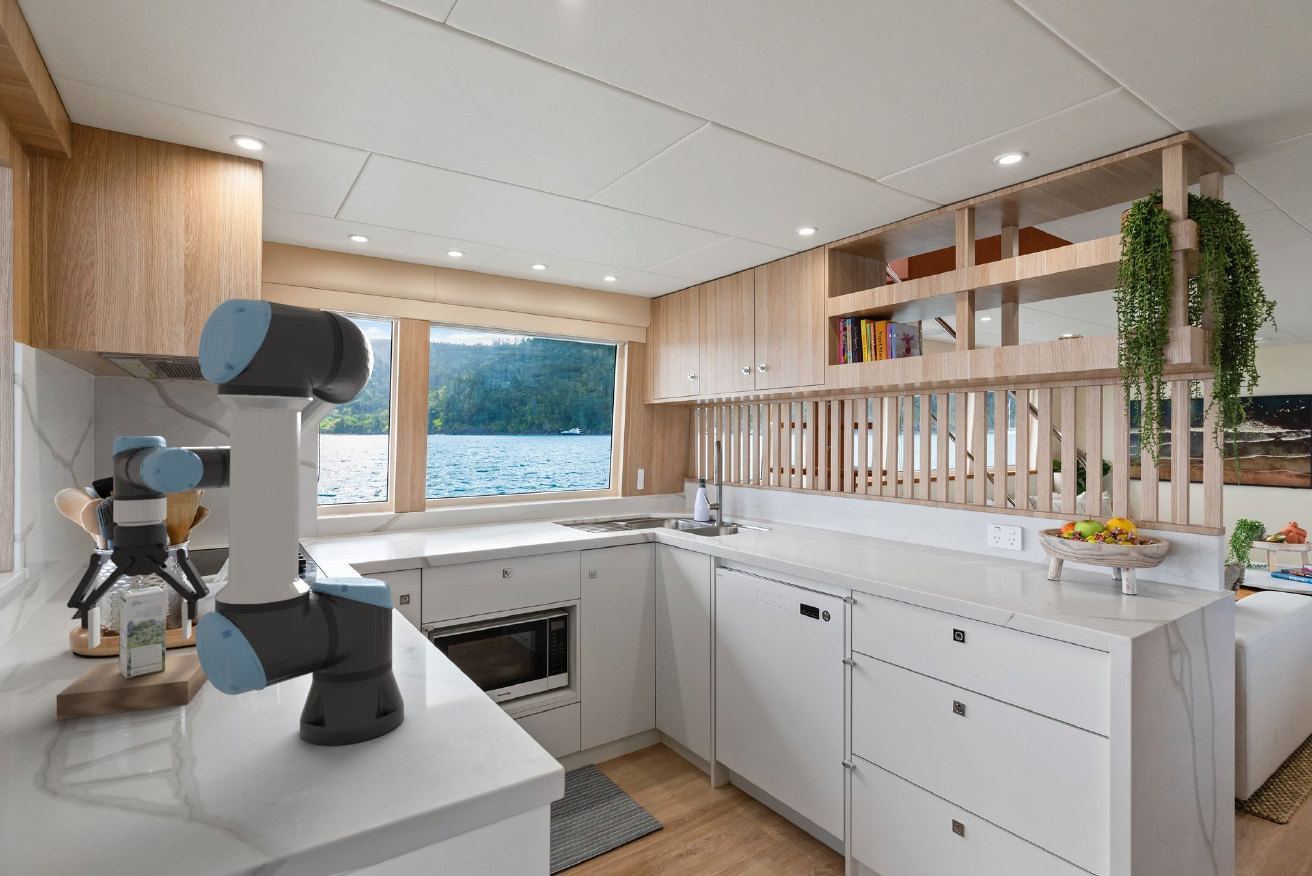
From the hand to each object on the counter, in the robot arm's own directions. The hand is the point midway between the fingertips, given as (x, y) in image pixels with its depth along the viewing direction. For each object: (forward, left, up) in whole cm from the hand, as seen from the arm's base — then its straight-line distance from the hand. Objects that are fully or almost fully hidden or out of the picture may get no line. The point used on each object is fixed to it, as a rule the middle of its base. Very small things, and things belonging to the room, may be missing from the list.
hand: (141, 642), depth 119 cm
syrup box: (0, 0, -6) cm, 6 cm away
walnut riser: (0, 0, -9) cm, 9 cm away
